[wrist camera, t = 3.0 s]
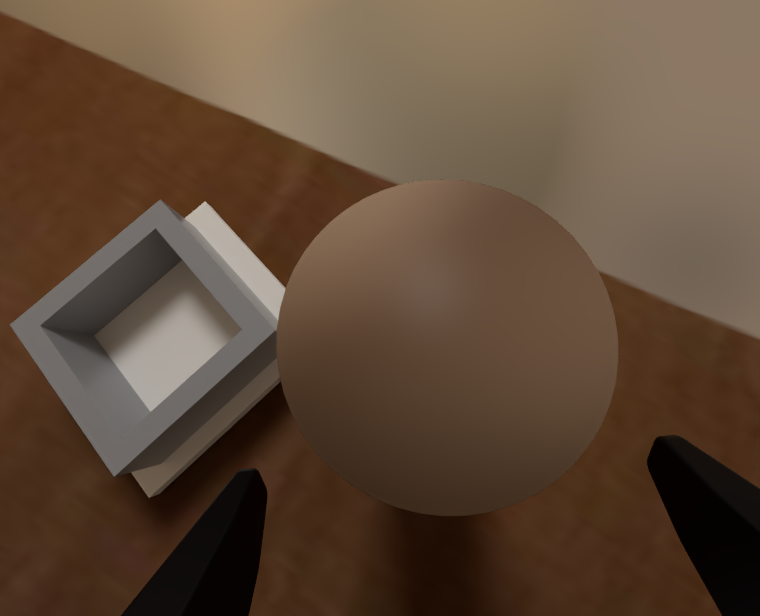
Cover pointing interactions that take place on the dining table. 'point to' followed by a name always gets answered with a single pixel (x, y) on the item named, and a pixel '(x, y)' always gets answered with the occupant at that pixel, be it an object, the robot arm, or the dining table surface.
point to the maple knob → (447, 347)
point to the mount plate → (159, 341)
